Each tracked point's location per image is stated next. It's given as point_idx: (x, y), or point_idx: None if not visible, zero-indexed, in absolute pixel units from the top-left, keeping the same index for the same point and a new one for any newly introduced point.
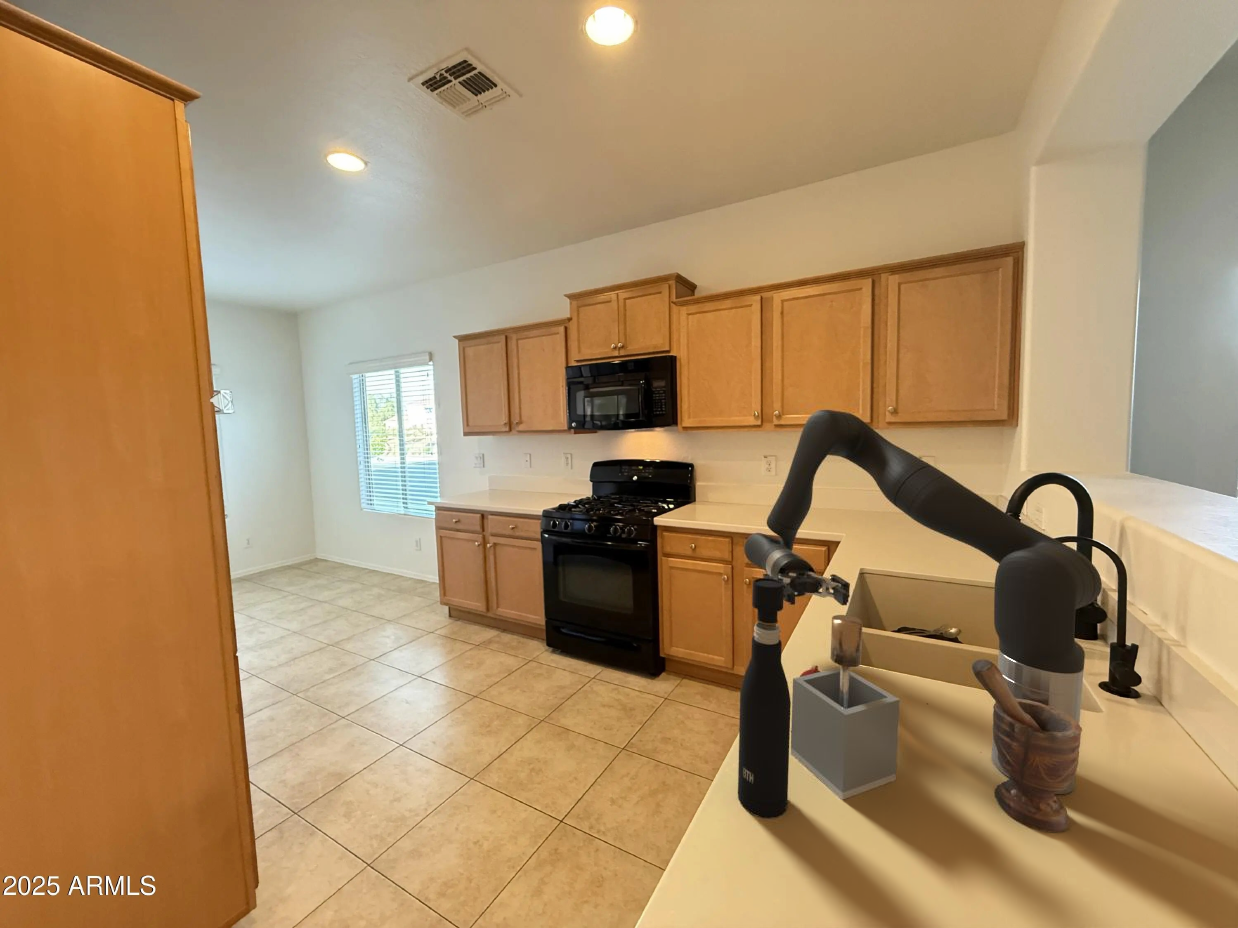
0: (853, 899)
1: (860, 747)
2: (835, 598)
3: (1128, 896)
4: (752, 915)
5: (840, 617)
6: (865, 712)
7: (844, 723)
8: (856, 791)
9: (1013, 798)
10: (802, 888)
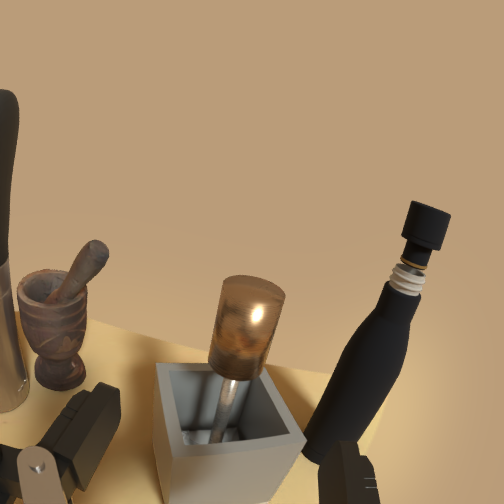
0: (277, 374)
1: None
2: (91, 473)
3: (92, 328)
4: None
5: (261, 297)
6: None
7: None
8: None
9: (78, 366)
10: (309, 383)
